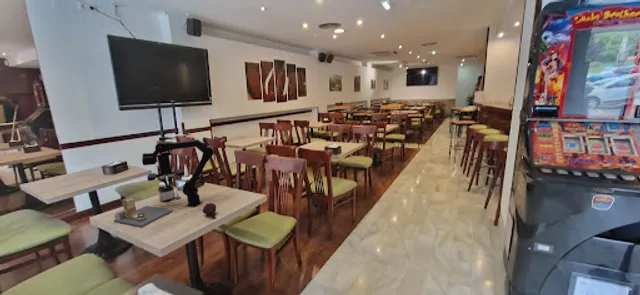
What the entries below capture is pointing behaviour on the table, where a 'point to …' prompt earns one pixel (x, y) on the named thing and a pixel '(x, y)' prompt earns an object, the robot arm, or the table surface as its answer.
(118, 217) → the keeper
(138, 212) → the base board
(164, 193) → the spread jar
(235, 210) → the table surface
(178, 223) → the table surface
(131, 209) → the link
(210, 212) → the icecream
